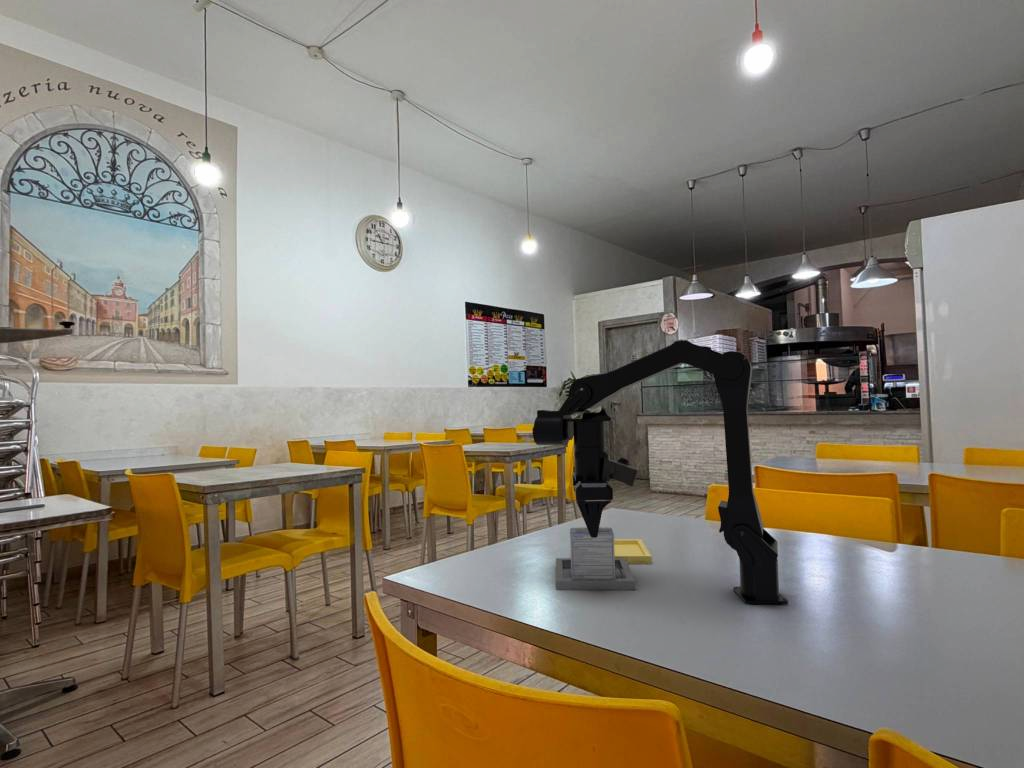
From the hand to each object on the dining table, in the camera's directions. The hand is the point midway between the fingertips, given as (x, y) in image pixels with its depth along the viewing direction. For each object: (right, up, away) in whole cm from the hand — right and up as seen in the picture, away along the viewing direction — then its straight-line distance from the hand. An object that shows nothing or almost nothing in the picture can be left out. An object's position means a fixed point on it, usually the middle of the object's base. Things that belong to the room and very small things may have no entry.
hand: (592, 531), depth 100 cm
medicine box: (0, -9, 0) cm, 9 cm away
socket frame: (0, -8, 0) cm, 8 cm away
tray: (+9, -9, +14) cm, 18 cm away
